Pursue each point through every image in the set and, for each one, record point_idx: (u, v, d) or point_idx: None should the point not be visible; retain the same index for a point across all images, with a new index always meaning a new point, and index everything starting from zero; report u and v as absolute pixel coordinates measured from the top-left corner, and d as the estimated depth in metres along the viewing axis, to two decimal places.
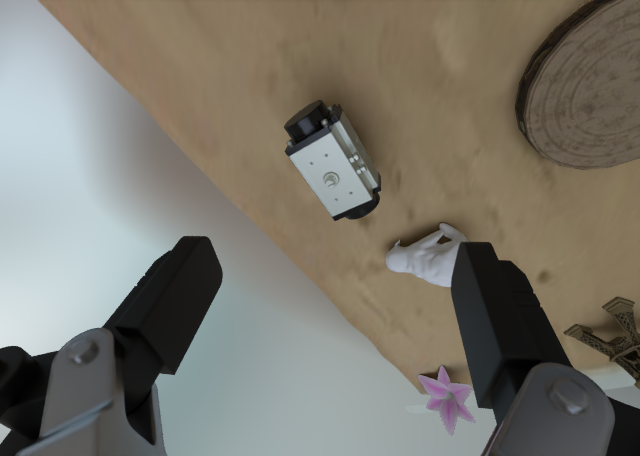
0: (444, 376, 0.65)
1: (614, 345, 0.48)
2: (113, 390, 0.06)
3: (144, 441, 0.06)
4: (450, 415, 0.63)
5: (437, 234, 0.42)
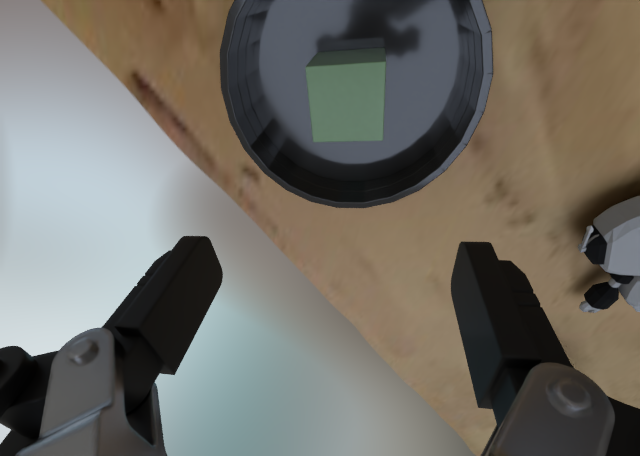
0: None
1: None
2: (113, 390, 0.06)
3: (144, 441, 0.06)
4: None
5: None
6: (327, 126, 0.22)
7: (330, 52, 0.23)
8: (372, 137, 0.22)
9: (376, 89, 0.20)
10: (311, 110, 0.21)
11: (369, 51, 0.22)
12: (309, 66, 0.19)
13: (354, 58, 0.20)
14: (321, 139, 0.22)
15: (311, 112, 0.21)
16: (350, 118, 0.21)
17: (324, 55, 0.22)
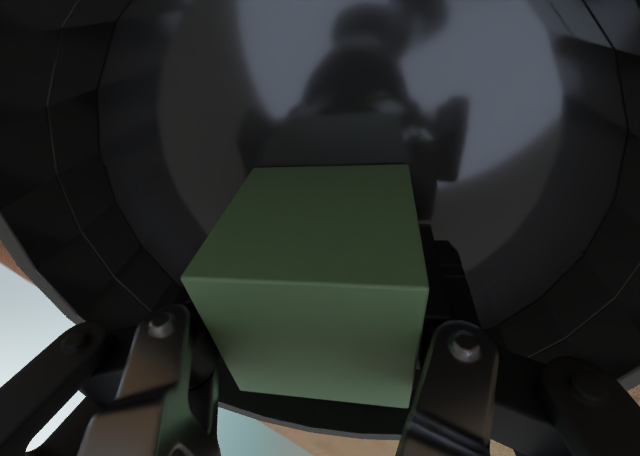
0: None
1: None
2: (181, 373, 0.06)
3: (200, 426, 0.07)
4: None
5: None
6: (268, 375, 0.09)
7: (280, 174, 0.10)
8: (381, 402, 0.09)
9: (395, 338, 0.07)
10: (221, 350, 0.08)
11: (372, 185, 0.09)
12: (192, 277, 0.06)
13: (330, 234, 0.07)
14: (258, 390, 0.09)
15: (222, 353, 0.08)
16: (325, 373, 0.08)
17: (261, 192, 0.09)
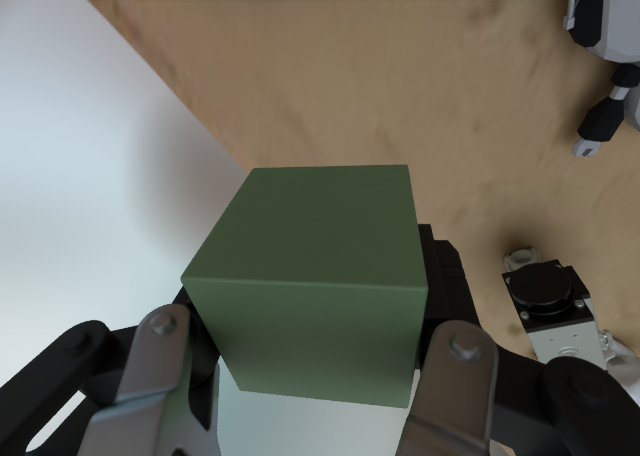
0: None
1: None
2: (181, 372, 0.06)
3: (200, 426, 0.07)
4: None
5: (608, 354, 0.39)
6: (267, 375, 0.09)
7: (279, 174, 0.10)
8: (381, 402, 0.09)
9: (394, 338, 0.07)
10: (221, 350, 0.08)
11: (371, 186, 0.09)
12: (191, 277, 0.06)
13: (329, 234, 0.07)
14: (257, 390, 0.09)
15: (222, 353, 0.08)
16: (324, 373, 0.08)
17: (260, 192, 0.09)
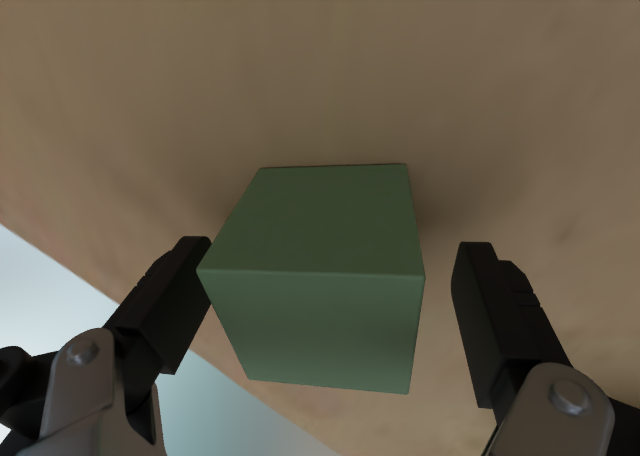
0: None
1: None
2: (113, 390, 0.06)
3: (144, 441, 0.06)
4: None
5: None
6: (275, 364, 0.09)
7: (285, 174, 0.10)
8: (383, 389, 0.09)
9: (394, 325, 0.07)
10: (232, 340, 0.09)
11: (372, 184, 0.09)
12: (206, 269, 0.07)
13: (333, 229, 0.08)
14: (265, 378, 0.10)
15: (233, 342, 0.09)
16: (329, 360, 0.09)
17: (267, 191, 0.09)
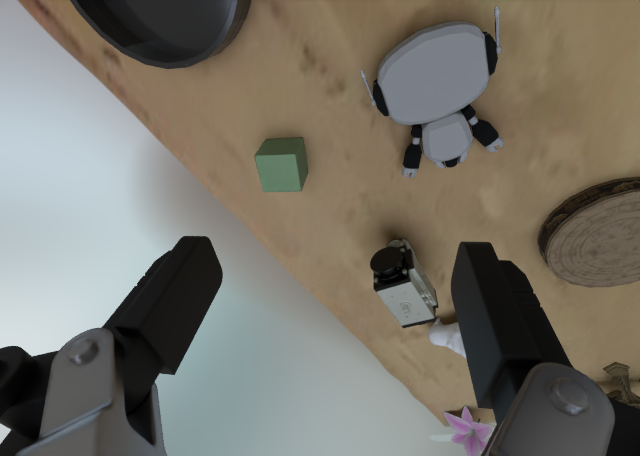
0: (467, 415, 0.75)
1: None
2: (113, 390, 0.06)
3: (144, 441, 0.06)
4: (473, 449, 0.74)
5: None
6: (270, 184, 0.39)
7: (272, 140, 0.40)
8: (295, 189, 0.39)
9: (293, 166, 0.37)
10: (260, 176, 0.38)
11: (292, 141, 0.39)
12: (256, 155, 0.36)
13: (281, 149, 0.37)
14: (267, 190, 0.39)
15: (260, 177, 0.38)
16: (282, 180, 0.38)
17: (268, 143, 0.39)
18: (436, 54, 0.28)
